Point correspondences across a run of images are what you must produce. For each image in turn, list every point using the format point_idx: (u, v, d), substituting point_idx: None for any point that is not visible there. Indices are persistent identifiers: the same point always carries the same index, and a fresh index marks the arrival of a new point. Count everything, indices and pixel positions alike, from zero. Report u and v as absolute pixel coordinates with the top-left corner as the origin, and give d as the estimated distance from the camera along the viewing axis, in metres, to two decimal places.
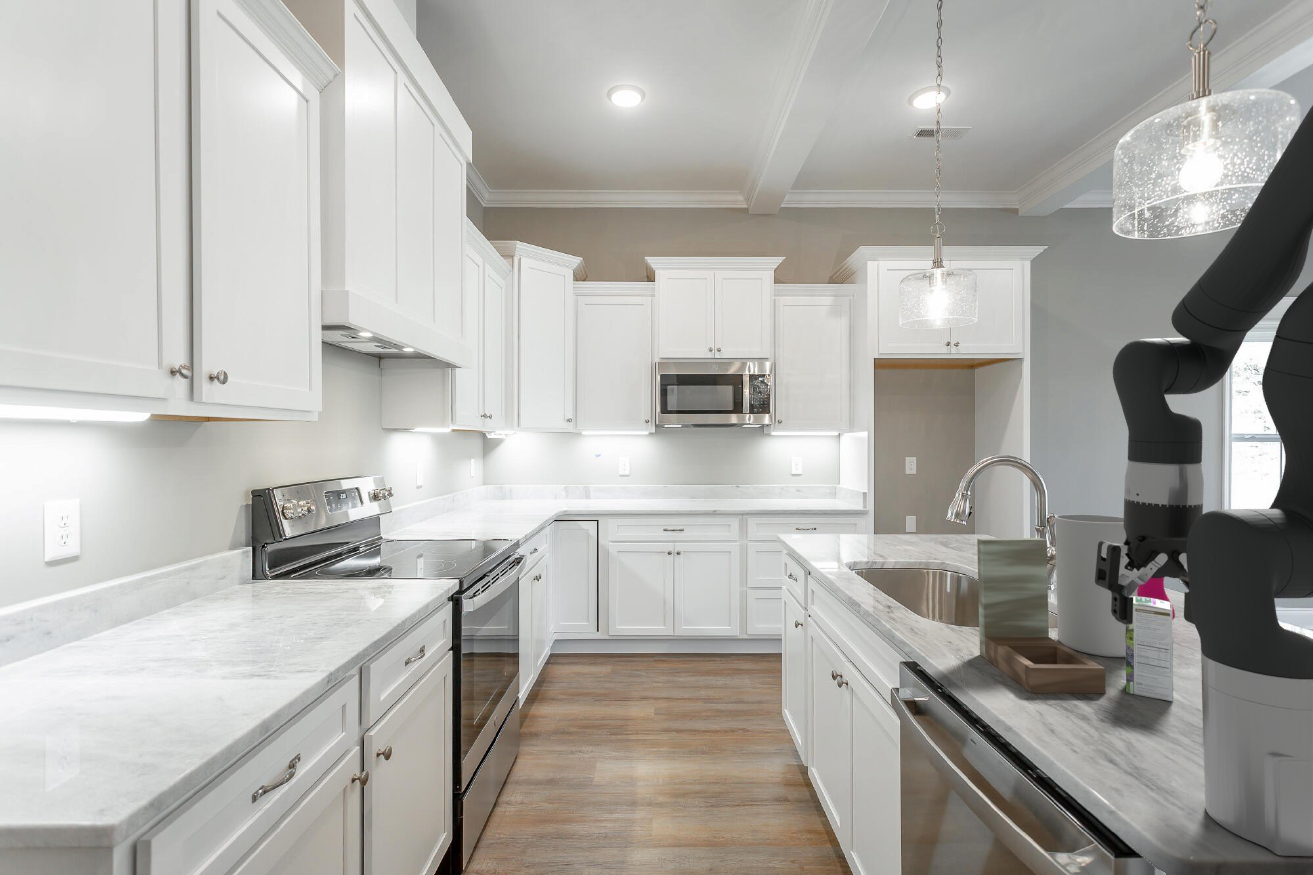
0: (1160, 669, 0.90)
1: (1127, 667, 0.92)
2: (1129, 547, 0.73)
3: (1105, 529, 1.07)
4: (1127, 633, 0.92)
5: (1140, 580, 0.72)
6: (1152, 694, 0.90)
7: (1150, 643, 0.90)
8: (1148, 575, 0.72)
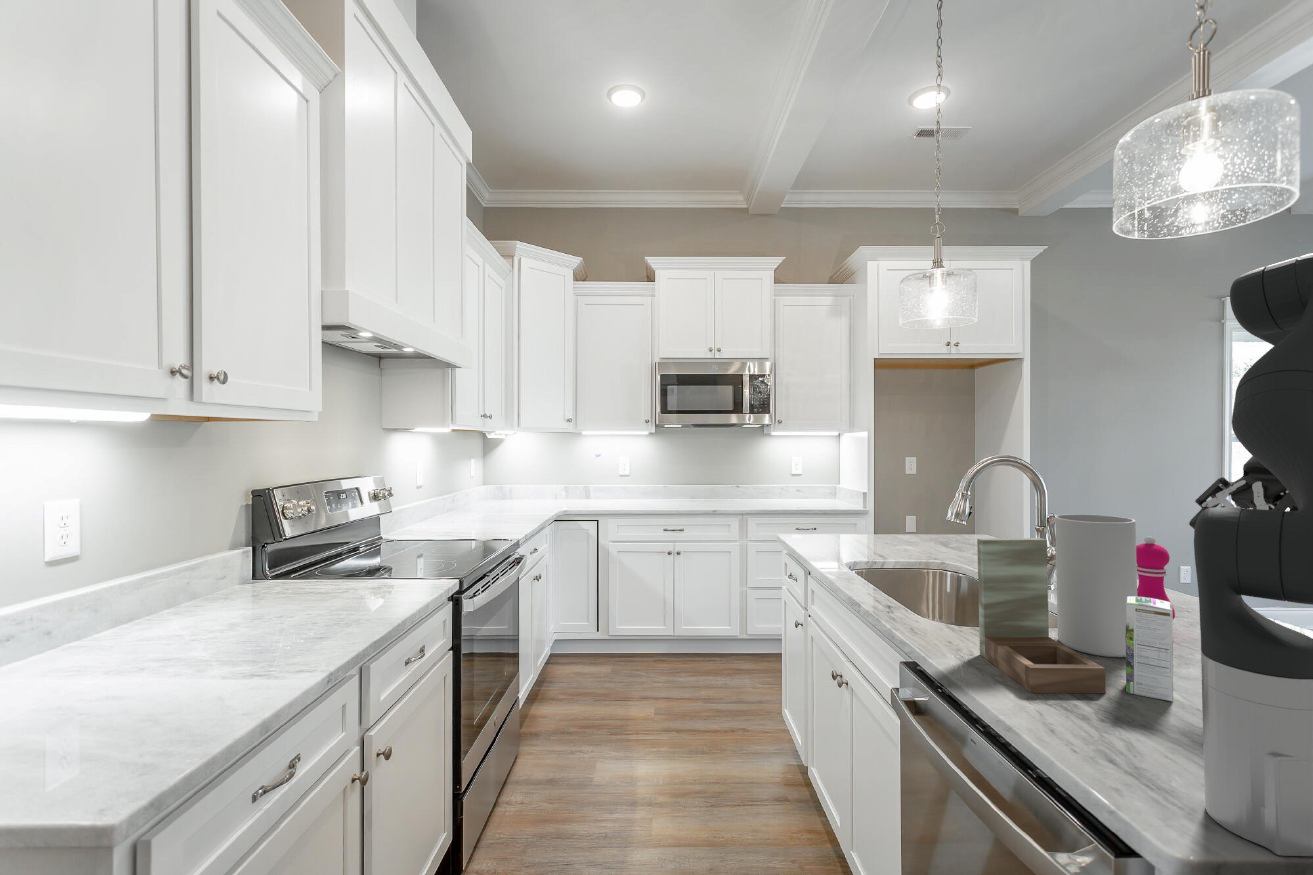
0: (1160, 669, 0.90)
1: (1127, 667, 0.92)
2: None
3: (1105, 529, 1.07)
4: (1127, 633, 0.92)
5: (1216, 496, 0.96)
6: (1152, 694, 0.90)
7: (1150, 643, 0.90)
8: (1224, 493, 0.95)
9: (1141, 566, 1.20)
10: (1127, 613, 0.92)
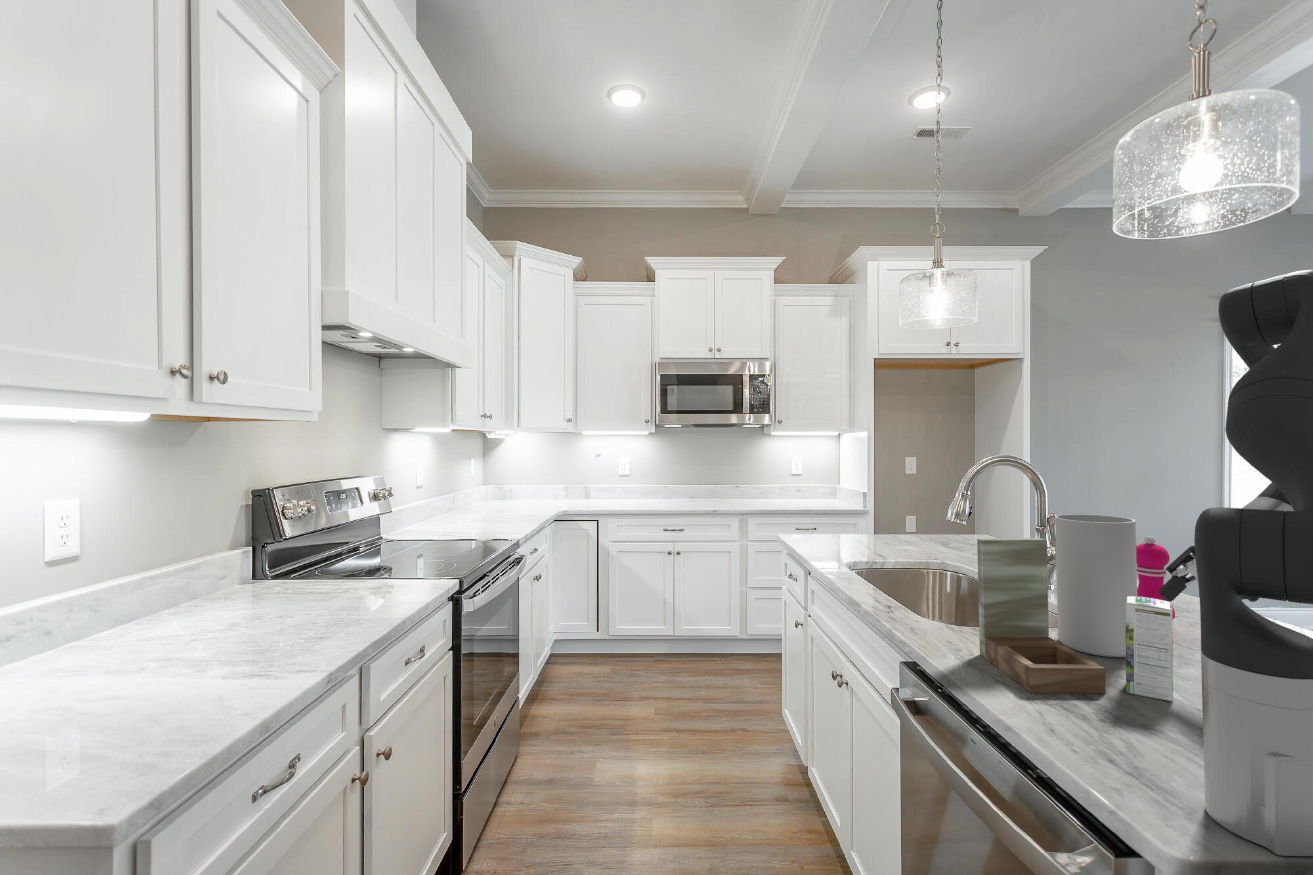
0: (1160, 669, 0.90)
1: (1127, 667, 0.92)
2: None
3: (1105, 529, 1.07)
4: (1127, 633, 0.92)
5: (1186, 565, 0.96)
6: (1152, 694, 0.90)
7: (1150, 643, 0.90)
8: (1194, 563, 0.95)
9: (1141, 566, 1.20)
10: (1127, 613, 0.92)
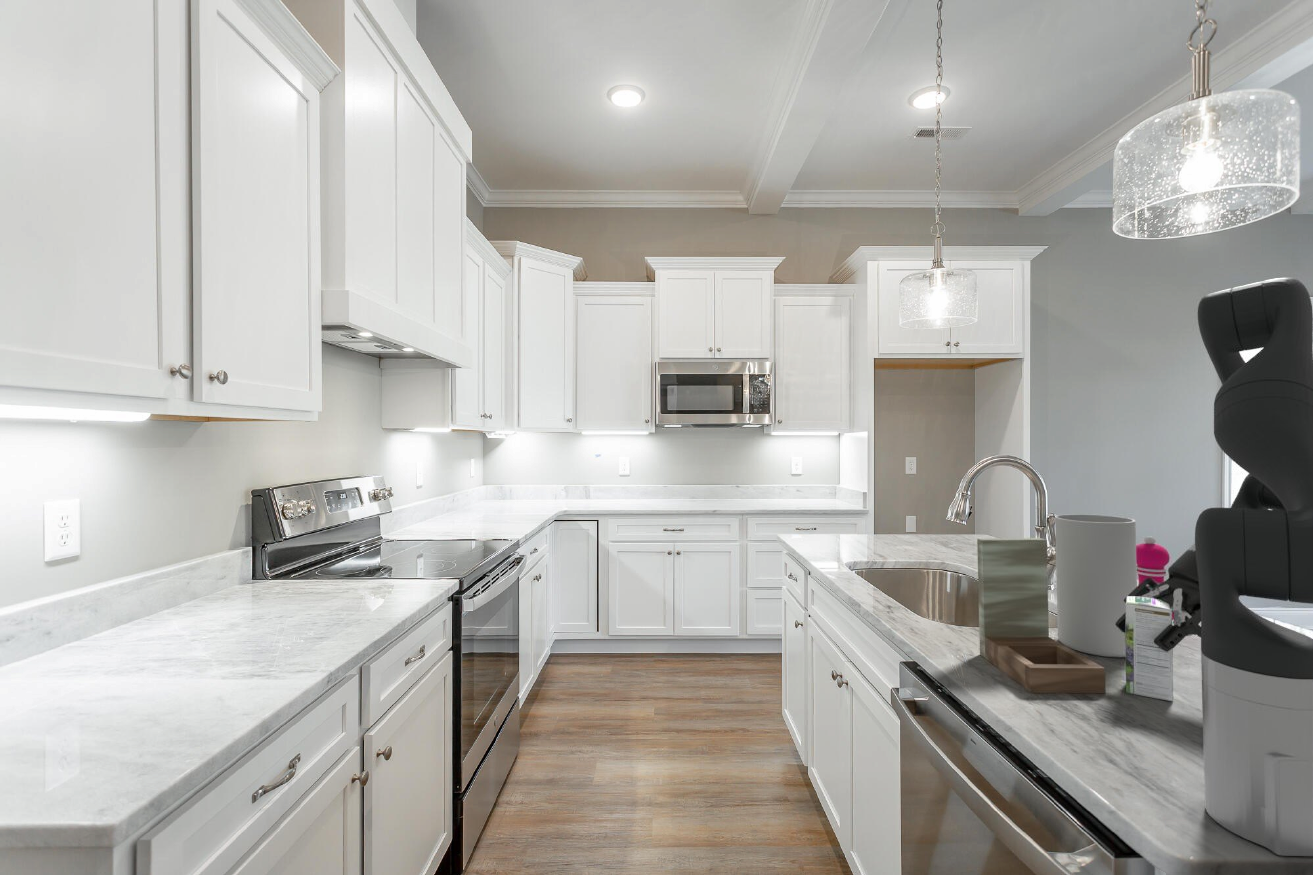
0: (1160, 669, 0.90)
1: (1127, 667, 0.92)
2: None
3: (1105, 529, 1.07)
4: (1127, 633, 0.92)
5: None
6: (1152, 694, 0.90)
7: (1150, 643, 0.90)
8: (1149, 596, 0.95)
9: (1141, 566, 1.20)
10: (1127, 613, 0.92)
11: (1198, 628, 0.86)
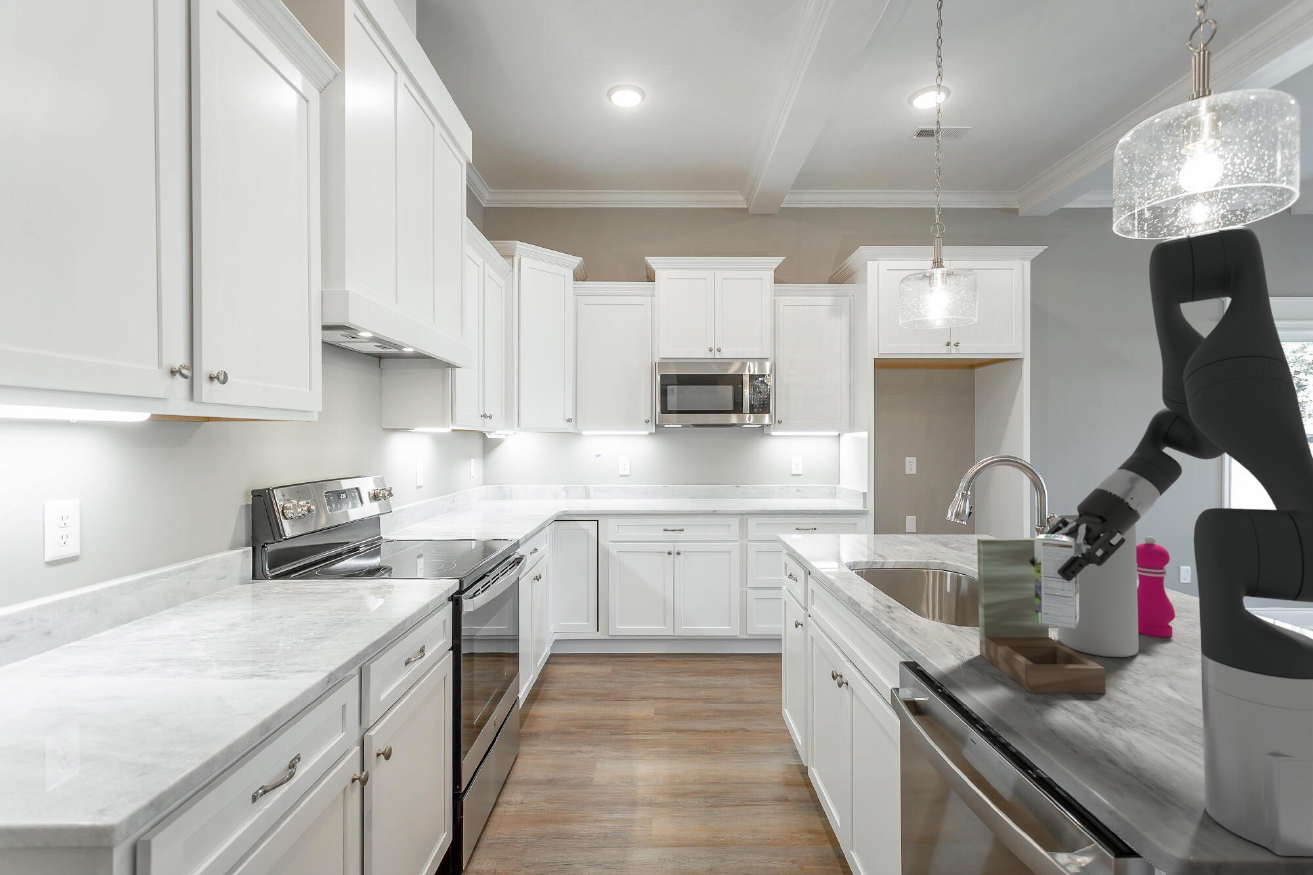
0: (1064, 599, 0.95)
1: (1036, 599, 0.98)
2: None
3: None
4: (1035, 566, 0.98)
5: None
6: (1058, 623, 0.96)
7: (1055, 575, 0.96)
8: (1059, 533, 1.00)
9: (1141, 566, 1.20)
10: (1035, 547, 0.98)
11: (1095, 557, 0.91)
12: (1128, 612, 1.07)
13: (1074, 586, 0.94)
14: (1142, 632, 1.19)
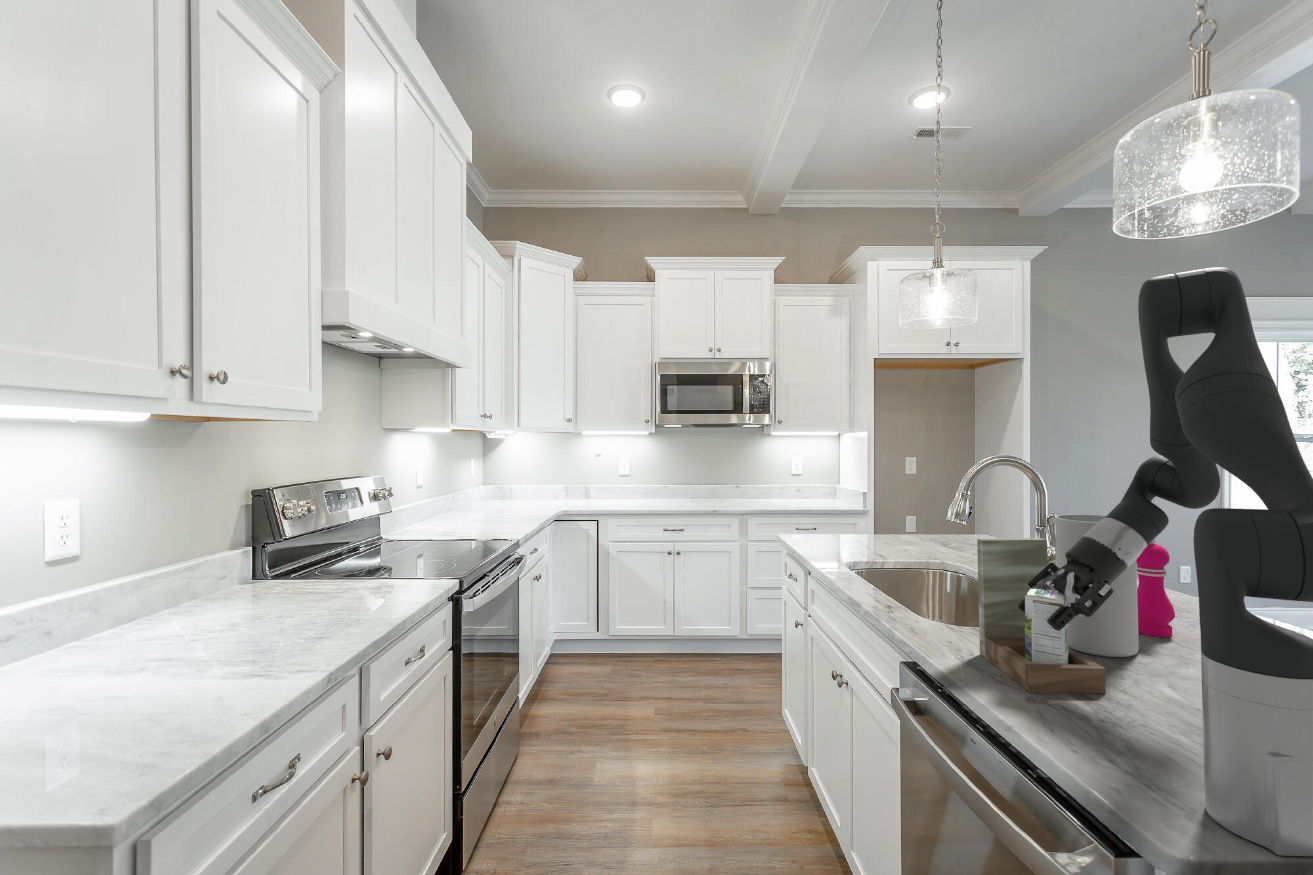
0: (1054, 657, 0.96)
1: (1026, 655, 0.98)
2: (1061, 569, 1.02)
3: None
4: (1026, 623, 0.98)
5: (1042, 581, 1.02)
6: None
7: (1046, 632, 0.96)
8: (1048, 579, 1.01)
9: (1141, 566, 1.20)
10: (1026, 604, 0.98)
11: (1085, 608, 0.92)
12: (1128, 612, 1.07)
13: (1064, 645, 0.95)
14: (1142, 632, 1.19)
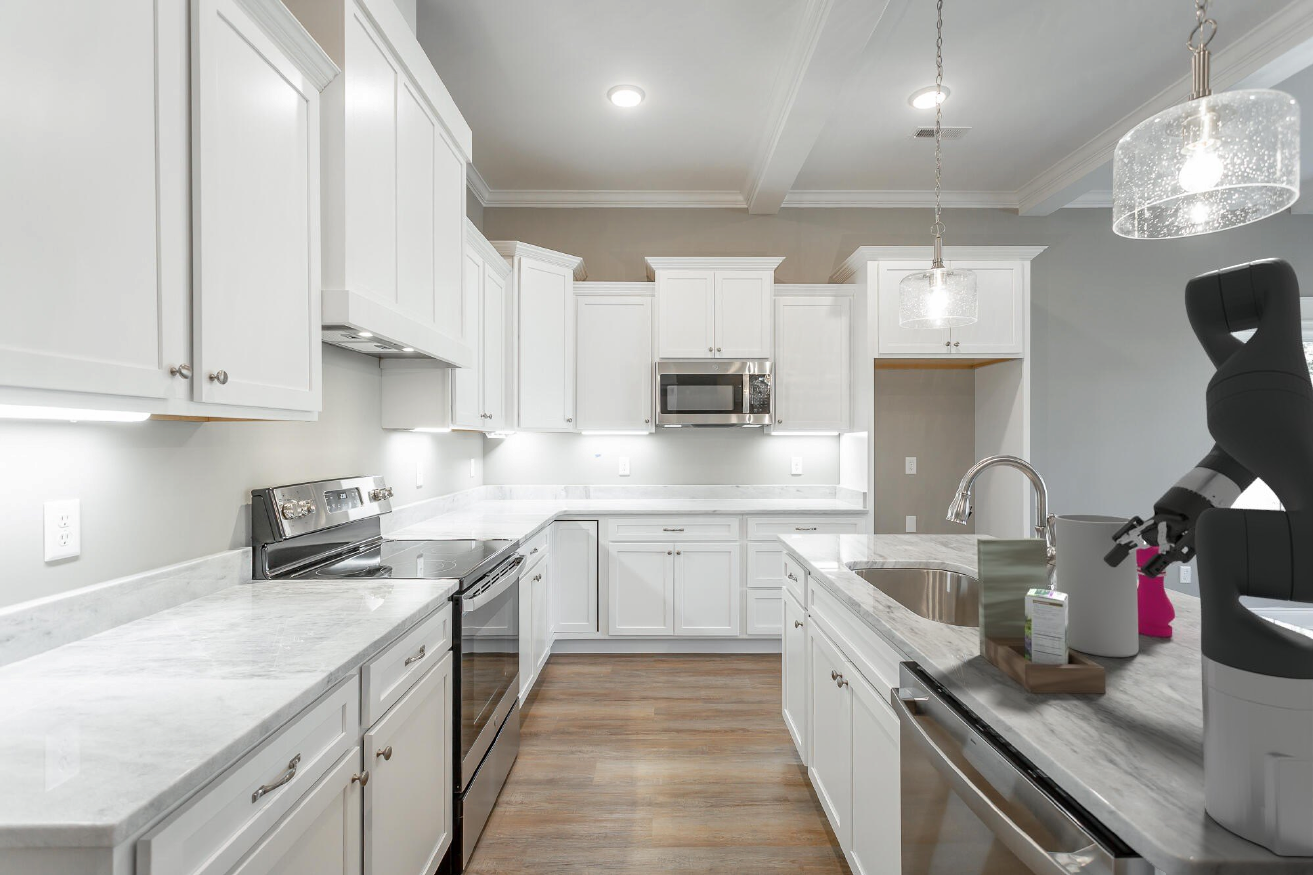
0: (1054, 657, 0.96)
1: (1026, 655, 0.98)
2: None
3: (1105, 529, 1.07)
4: (1026, 623, 0.98)
5: (1129, 533, 1.01)
6: None
7: (1046, 632, 0.96)
8: (1135, 531, 1.00)
9: (1141, 566, 1.20)
10: (1026, 604, 0.98)
11: (1182, 554, 0.91)
12: (1128, 612, 1.07)
13: (1064, 645, 0.95)
14: (1142, 632, 1.19)
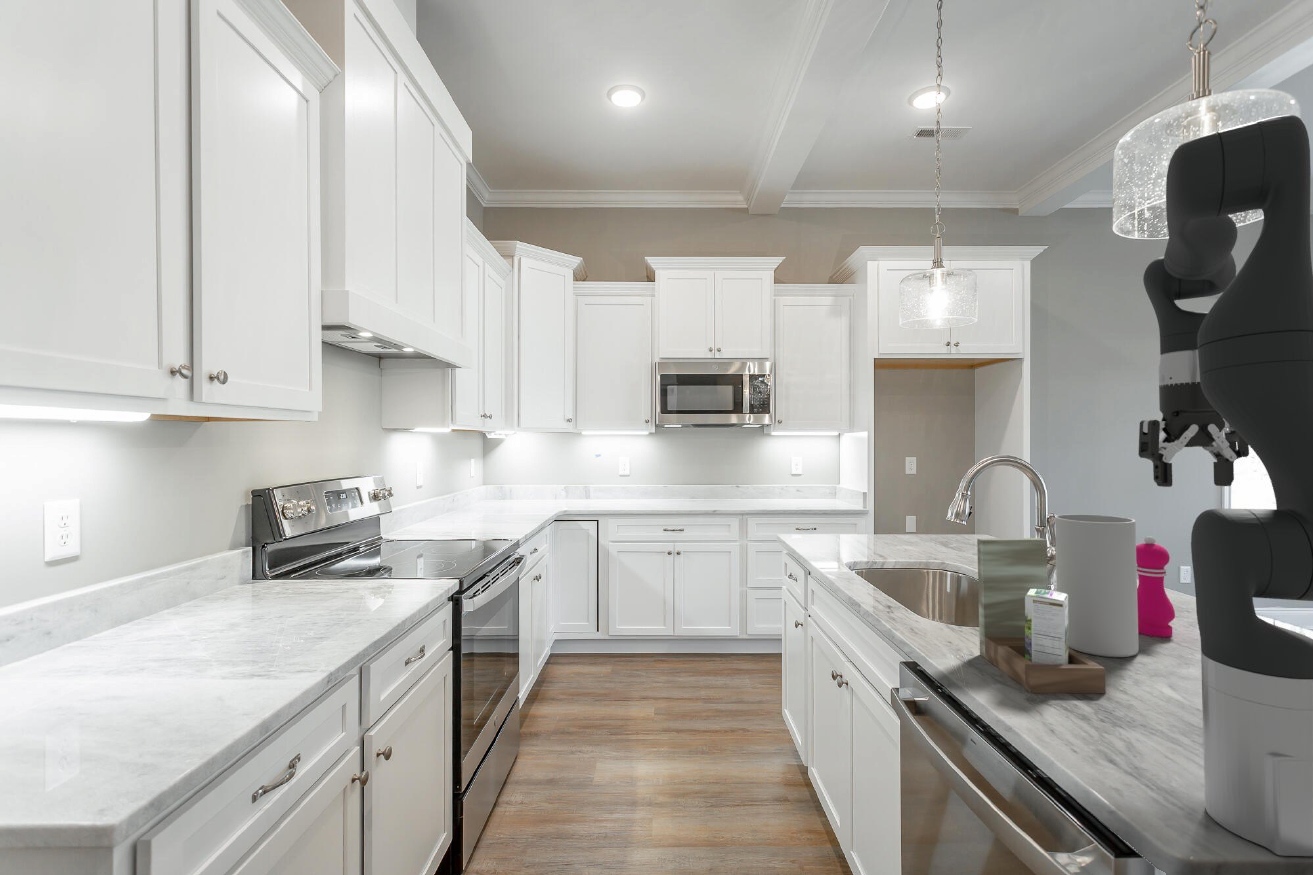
0: (1054, 657, 0.96)
1: (1026, 655, 0.98)
2: (1166, 422, 0.90)
3: (1105, 529, 1.07)
4: (1026, 623, 0.98)
5: (1177, 448, 0.88)
6: None
7: (1046, 632, 0.96)
8: (1183, 443, 0.88)
9: (1141, 566, 1.20)
10: (1026, 604, 0.98)
11: None
12: (1128, 612, 1.07)
13: (1064, 645, 0.95)
14: (1142, 632, 1.19)
